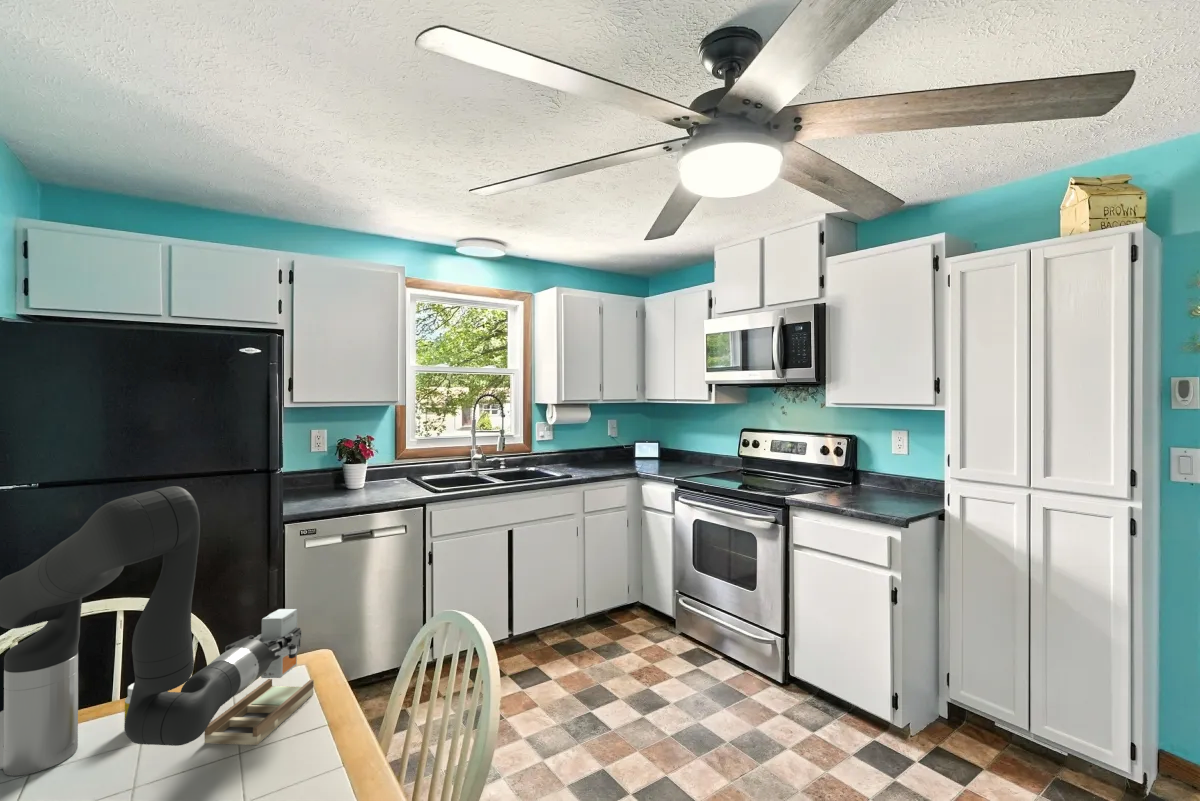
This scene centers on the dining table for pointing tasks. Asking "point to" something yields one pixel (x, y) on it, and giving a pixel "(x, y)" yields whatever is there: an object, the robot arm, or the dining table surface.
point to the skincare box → (272, 628)
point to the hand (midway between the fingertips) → (286, 632)
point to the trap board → (257, 714)
